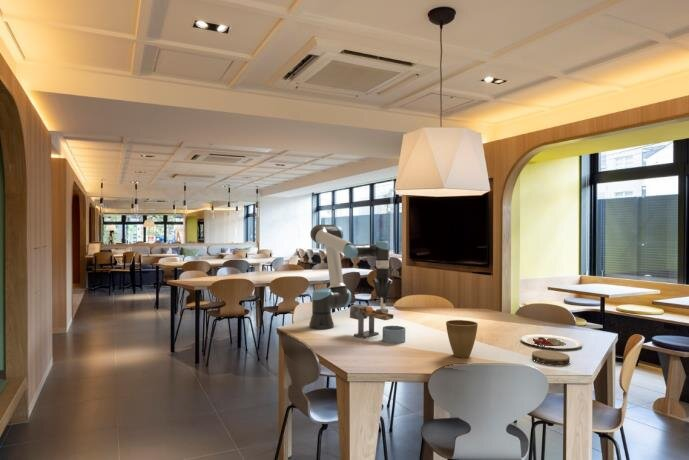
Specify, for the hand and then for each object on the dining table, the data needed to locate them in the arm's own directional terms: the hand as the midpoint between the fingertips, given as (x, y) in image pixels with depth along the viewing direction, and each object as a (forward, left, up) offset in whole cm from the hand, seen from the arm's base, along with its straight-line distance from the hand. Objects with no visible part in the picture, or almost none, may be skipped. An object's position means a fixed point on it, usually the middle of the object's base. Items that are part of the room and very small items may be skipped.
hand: (383, 308), depth 261 cm
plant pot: (+53, -10, -15) cm, 56 cm away
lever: (-3, -4, -6) cm, 8 cm away
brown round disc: (+88, +10, -16) cm, 90 cm away
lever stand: (-7, -7, -15) cm, 18 cm away
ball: (-4, -7, 0) cm, 8 cm away
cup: (+12, -7, -15) cm, 21 cm away
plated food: (+79, +44, -16) cm, 92 cm away
